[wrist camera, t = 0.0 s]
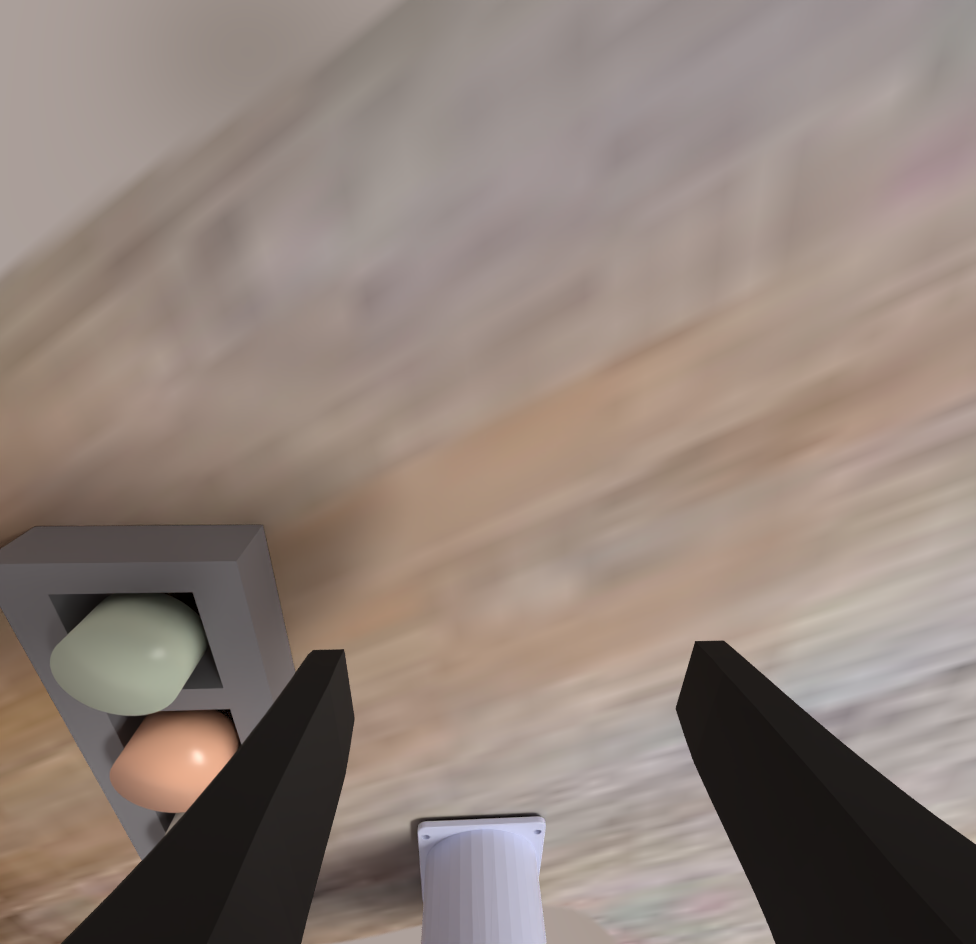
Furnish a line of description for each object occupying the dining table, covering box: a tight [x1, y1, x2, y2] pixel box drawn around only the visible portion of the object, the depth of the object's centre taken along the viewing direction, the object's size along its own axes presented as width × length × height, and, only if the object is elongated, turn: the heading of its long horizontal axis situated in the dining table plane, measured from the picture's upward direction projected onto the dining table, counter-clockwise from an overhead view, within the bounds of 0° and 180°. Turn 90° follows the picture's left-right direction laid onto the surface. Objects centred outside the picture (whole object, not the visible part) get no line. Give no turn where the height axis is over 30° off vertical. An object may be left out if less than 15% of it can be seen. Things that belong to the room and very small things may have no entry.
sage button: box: [50, 593, 208, 716], centre depth 18 cm, size 4×4×2 cm
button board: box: [0, 525, 295, 860], centre depth 22 cm, size 21×9×2 cm, turn 179°
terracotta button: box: [110, 709, 241, 813], centre depth 21 cm, size 4×4×2 cm
